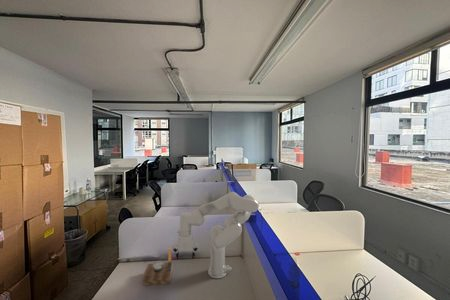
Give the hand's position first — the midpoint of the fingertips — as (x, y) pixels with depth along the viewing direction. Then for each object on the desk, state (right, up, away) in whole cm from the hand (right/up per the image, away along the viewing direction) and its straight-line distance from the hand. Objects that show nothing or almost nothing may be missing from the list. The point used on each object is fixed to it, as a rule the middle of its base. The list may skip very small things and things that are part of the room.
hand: (185, 257), depth 136 cm
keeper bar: (-11, +2, -1) cm, 11 cm away
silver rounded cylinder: (-17, -12, -1) cm, 21 cm away
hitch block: (-17, -12, -1) cm, 21 cm away
